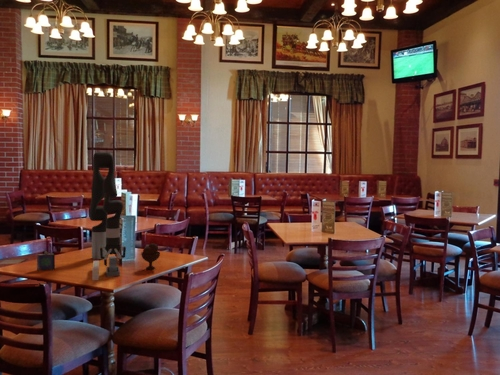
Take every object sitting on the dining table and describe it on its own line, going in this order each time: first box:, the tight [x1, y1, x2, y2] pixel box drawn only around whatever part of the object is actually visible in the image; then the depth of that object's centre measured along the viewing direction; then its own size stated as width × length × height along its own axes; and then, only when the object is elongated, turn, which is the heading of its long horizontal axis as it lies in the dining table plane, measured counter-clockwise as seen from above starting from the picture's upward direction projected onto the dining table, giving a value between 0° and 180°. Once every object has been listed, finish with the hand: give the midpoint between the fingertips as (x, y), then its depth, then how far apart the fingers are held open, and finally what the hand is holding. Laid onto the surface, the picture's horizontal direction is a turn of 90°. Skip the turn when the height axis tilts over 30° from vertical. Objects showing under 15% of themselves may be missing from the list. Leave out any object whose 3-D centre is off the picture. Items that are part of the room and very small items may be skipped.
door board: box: [91, 260, 100, 281], centre depth 248 cm, size 24×3×5 cm, turn 18°
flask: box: [36, 250, 56, 271], centre depth 256 cm, size 9×3×11 cm, turn 109°
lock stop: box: [108, 255, 118, 272], centre depth 250 cm, size 10×4×8 cm, turn 18°
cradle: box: [105, 265, 121, 278], centre depth 251 cm, size 13×7×2 cm, turn 18°
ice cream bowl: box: [140, 243, 161, 271], centre depth 263 cm, size 11×11×15 cm
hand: (112, 265), depth 250 cm, fingers open, 6 cm apart
